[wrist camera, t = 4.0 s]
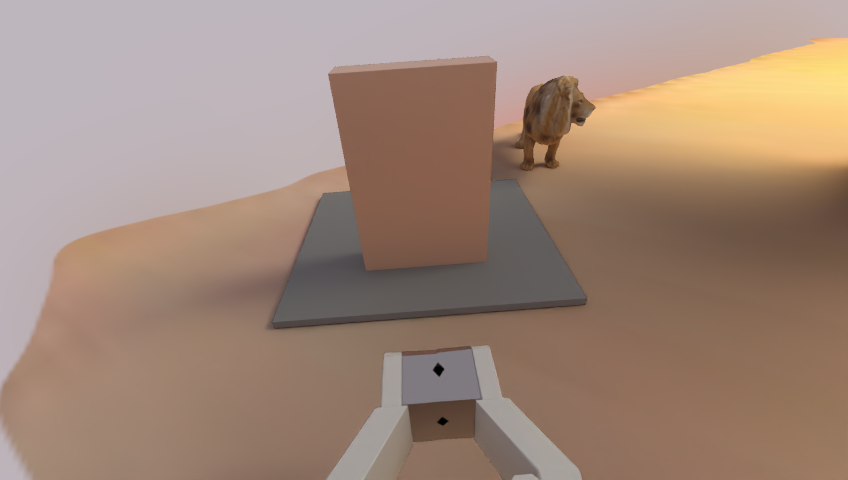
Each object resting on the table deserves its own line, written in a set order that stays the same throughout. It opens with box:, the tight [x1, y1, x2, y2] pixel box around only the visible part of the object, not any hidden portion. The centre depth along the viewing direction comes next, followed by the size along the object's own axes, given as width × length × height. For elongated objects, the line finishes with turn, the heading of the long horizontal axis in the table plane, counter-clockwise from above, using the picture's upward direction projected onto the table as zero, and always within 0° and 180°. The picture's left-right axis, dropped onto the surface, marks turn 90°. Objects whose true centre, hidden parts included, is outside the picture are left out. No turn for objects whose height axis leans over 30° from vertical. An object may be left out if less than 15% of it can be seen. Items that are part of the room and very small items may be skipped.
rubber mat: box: [272, 179, 587, 328], centre depth 27 cm, size 18×16×1 cm
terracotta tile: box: [328, 56, 497, 271], centre depth 21 cm, size 8×2×12 cm, turn 93°
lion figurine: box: [516, 76, 595, 170], centre depth 37 cm, size 15×5×9 cm, turn 179°
